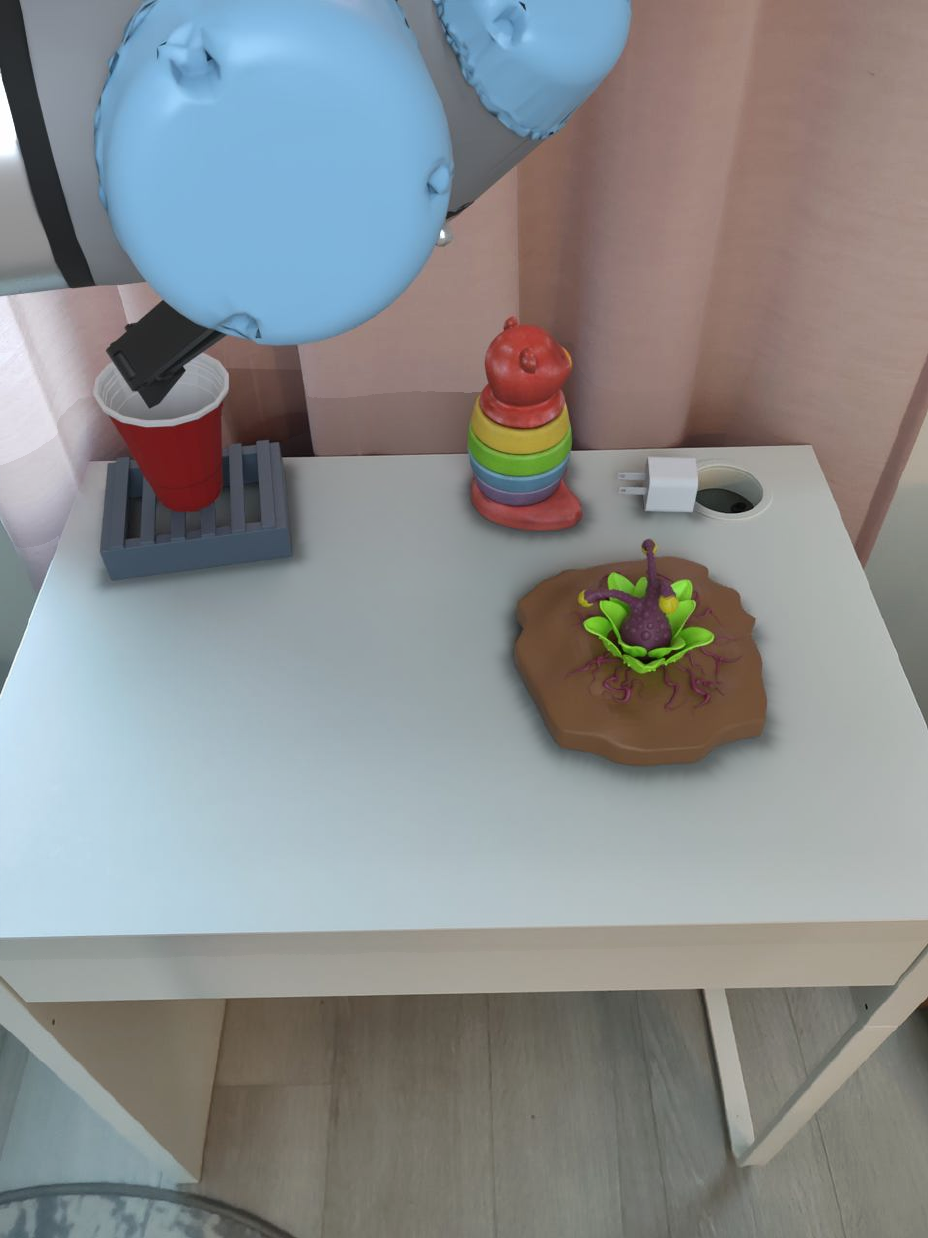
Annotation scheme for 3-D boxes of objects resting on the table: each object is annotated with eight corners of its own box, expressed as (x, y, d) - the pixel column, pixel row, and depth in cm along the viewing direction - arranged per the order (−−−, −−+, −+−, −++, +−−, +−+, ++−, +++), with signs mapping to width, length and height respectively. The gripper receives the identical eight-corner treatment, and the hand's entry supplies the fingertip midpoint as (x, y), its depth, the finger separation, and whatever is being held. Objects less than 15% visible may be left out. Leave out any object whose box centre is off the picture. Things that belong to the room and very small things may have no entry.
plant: (543, 786, 74) (551, 695, 65) (496, 594, 86) (498, 497, 78) (802, 748, 75) (842, 655, 67) (719, 566, 88) (744, 468, 80)
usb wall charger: (691, 515, 92) (698, 482, 89) (616, 513, 93) (621, 480, 90) (688, 487, 95) (694, 454, 92) (615, 485, 95) (619, 452, 92)
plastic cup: (265, 514, 88) (240, 402, 79) (141, 545, 85) (100, 433, 76) (240, 441, 94) (214, 330, 85) (124, 468, 92) (85, 357, 83)
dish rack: (111, 580, 88) (98, 548, 85) (118, 491, 96) (106, 459, 93) (292, 556, 90) (285, 523, 87) (284, 470, 98) (278, 438, 95)
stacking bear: (586, 528, 92) (604, 363, 78) (478, 541, 91) (477, 377, 77) (561, 453, 99) (573, 290, 85) (460, 464, 98) (456, 302, 84)
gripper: (185, 374, 40) (96, 484, 59) (586, 168, 52) (406, 314, 70) (76, 203, 39) (19, 371, 57) (513, 30, 50) (349, 217, 69)
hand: (232, 340), depth 64 cm, fingers open, 13 cm apart
